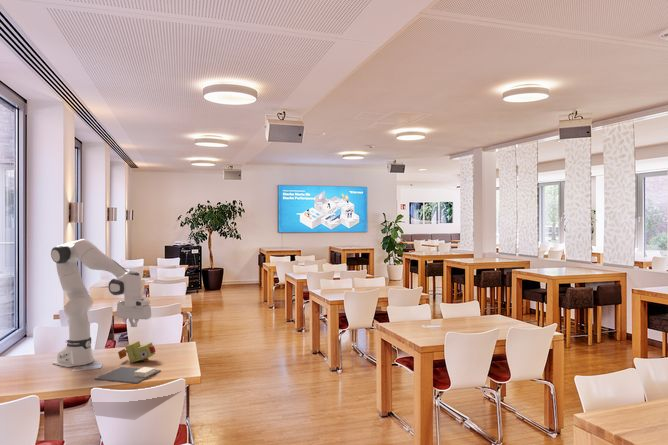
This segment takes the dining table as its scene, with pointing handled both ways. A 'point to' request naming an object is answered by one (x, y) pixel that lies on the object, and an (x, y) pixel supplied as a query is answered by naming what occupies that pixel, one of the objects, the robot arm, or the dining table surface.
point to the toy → (137, 351)
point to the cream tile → (144, 372)
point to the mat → (124, 375)
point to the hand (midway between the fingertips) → (133, 326)
